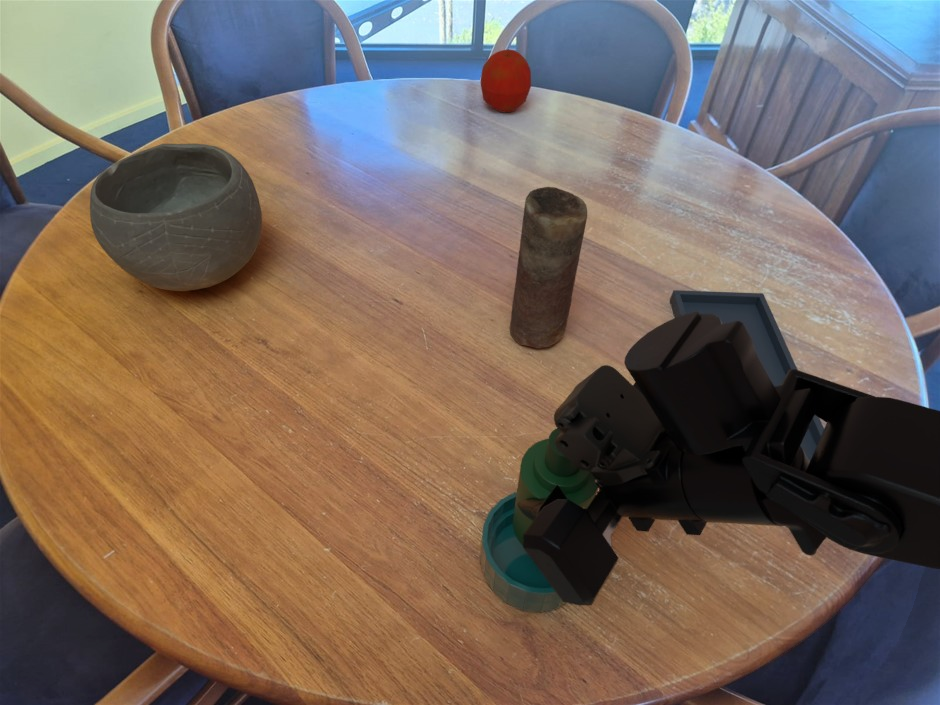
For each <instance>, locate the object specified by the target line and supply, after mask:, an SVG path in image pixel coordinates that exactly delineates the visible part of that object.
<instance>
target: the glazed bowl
mask: <svg viewBox="0 0 940 705" xmlns="http://www.w3.org/2000/svg"><path fill="white" fill-rule="evenodd" d="M516 495H517V491H515V492H512V493H511V494H509V495H506V496H505V497H503V498H501V499H499V501H498V502H497V503H496V504H494V506H493V507H492V508H491V509H490V510H489V512H488V514H487V516H486V518H485V520H484V522H483V525H482V535H481V548H480V557H479V558H480V559H479V563H480V568H481V570H482V575H483V577H484V580H485V581H486V583H487V584H488V586H489V588H490V590H491V592H493V593H494V594H495V596H497V597H498V598H499V599H501V600H502V601H503V602H504V603H505V604H507V605H509V606H511V607H513V608H515V609H518V610H520V611H522V612H523V611H524V612H529V613H530V612H532V613H545V612H550V611H553V610H557V609H560V608H561V607H562V606H564V605H565V604H567V603H566V602H563V601H562V599H561V598H560V597H559V595H558V594H557V593H556V591H555V590H554V589H553V587H552V586H551V585H550V583H549V582H548V581H547V579H546V578H545V576H544V575H543V574H542V572H541V571H540V570H539V568H538V567H537V566H536V564H535V563H534V562H533V560H532V559H531V557H530V556H529V555H528V553H527V552H526V551H525V549H524V548H523V545H522V544H521V543H520V542H519V540H518V539H517V537H516V535H515V532H514V529H513V516H514V509H515V502H516Z"/></svg>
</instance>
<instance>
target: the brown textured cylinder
mask: <svg viewBox="0 0 940 705" xmlns="http://www.w3.org/2000/svg"><path fill="white" fill-rule="evenodd" d="M587 221H588V206H587V203H585V201H584V199H582V198H580V197H579V196H577V195H575V194H573V193H572V192H569V191H566V190H564V189H560V188H558V187H554V186H544V187H543V186H542V187H538V188H536V189H532V190H531V191H529V192H528V195H527V196H526V197H525V202H524V210H523V215H522V225H521V235H520V239H519V240H520V241H519V251H518V258H517V268H516V275H515V282H514V290H513V297H512V305H511V312H510V313H511V316H510V325H509V334H510V336H511V337H512V338H513V340H514V341H515V342H516V343H517V344H518V345H521V346H527V347H532V348H536V349H543V348H549V347H551V346H552V345H555V344H556V343H558V341H560V339H562V338H563V336H564V335H565V333H566V331H567V330H566V329H567V326H568V320H569V314H570V309H571V306H572V300H573V293H574V287H575V282H576V277H577V271H578V267H579V266H578V265H579V263H580V262H579V261H580V256H581V251H582V246H583V240H584V236H585V230H586V225H587Z"/></svg>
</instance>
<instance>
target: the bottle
mask: <svg viewBox="0 0 940 705" xmlns="http://www.w3.org/2000/svg"><path fill="white" fill-rule="evenodd" d="M559 433H560V432H559V429H558V428H557V427H556V428H555V429H553V430H552V431H551V432H550V434H549V435H548V438H544V439H542V440H539V441H537V442H535V443H534V444H532V445H531V446H530V447H529V448H528V449H527V450H526V451H525V453H524V454H523V456H522V457H521V462H520V467H519V475H518V482H517V489H516V492H517V495H516V502H515V509H514V516H513V529H514V532H515V535H516V537H517V539H518V540H519V542H520V543H521V544H522V545H523V534H524V533H525V532H526V530H527V529H528V528H529V526H530V525H531V524H532V522H533V521H532V520H531V519H529V518H528V517H527V516H526V515H524V514H523V513H522V512H521V510H520V509H519V507H518V506H517V504H518V502H519V501H522V500H527V499H540V498H547V497H548V495H549V494H550V493H551V491H552V490H553V489H554V487H555V486H556V485H558V486H559V487H560V489H561V490H562V491H563V493H564V494H565V496H566V497H567V499H569V500H570V501H572V502H574V503H575V504H577V505H579V506H580V507H585V508H586V509H587V508H588V506H589V505H590V503H591V502H592V500H593V499H594V497H595V496H596V494H597V493H598V491H599V488H598V486H597V485H596V483H595V480H596V479H595V478H594V476H593V475H592V473H591V471H592V469H593V468H592V469H590V470H588V471H584V470H581V469H579V468H577V467H576V466H575V465H574V464H573V463H572V462H571V461H570V460H569V459H568V458H567V457H566V456H565V455H564V454H563V453H562V452H561V451H560V450H559V449H558V448H557V447H556V443H555V439H556V438H557V437H558V436H559Z"/></svg>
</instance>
